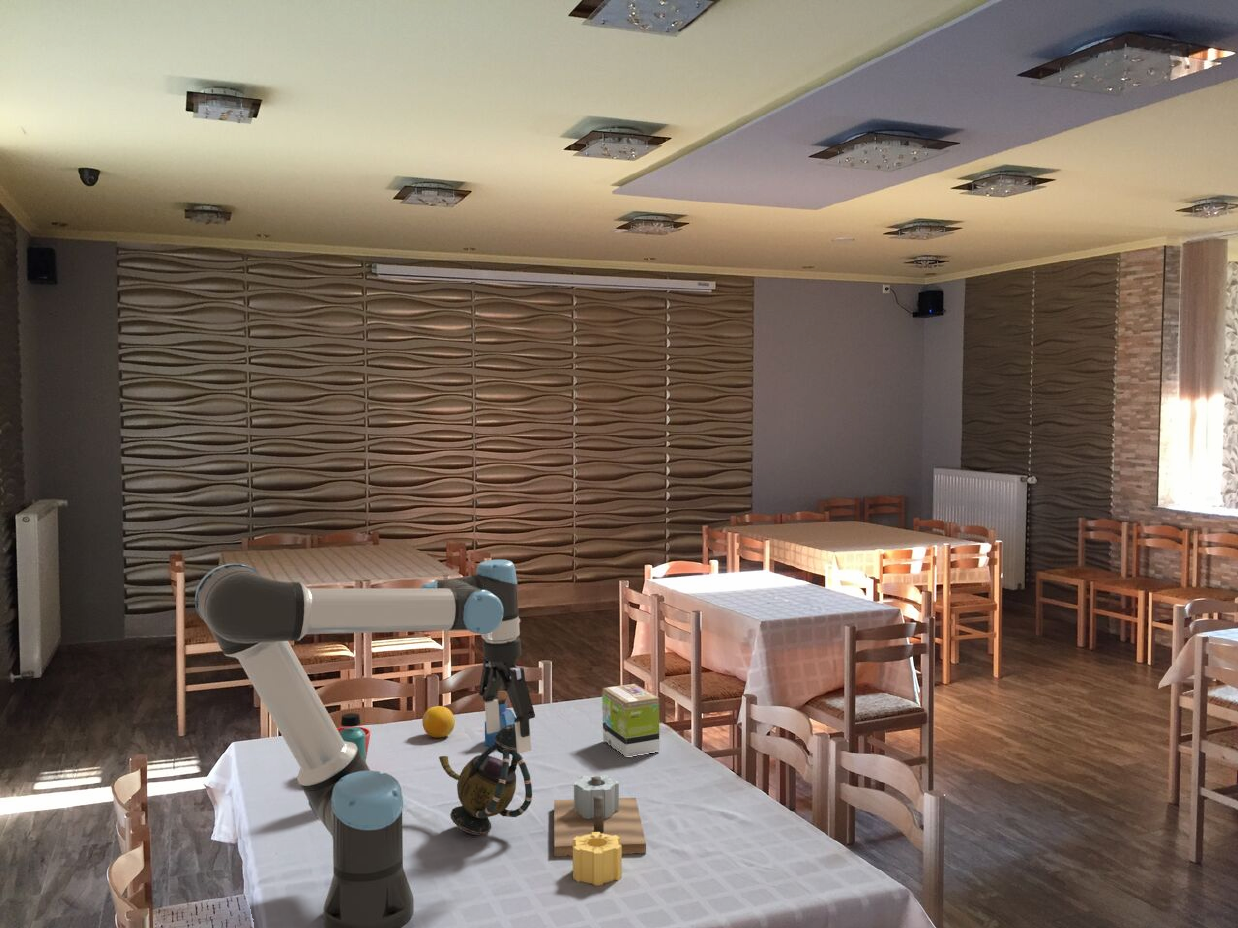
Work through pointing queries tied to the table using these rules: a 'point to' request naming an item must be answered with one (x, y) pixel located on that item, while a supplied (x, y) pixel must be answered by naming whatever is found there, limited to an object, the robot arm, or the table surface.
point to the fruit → (438, 721)
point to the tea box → (630, 719)
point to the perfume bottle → (505, 719)
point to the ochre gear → (597, 858)
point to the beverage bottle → (353, 732)
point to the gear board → (586, 826)
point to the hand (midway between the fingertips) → (508, 742)
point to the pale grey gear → (587, 792)
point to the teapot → (489, 785)
